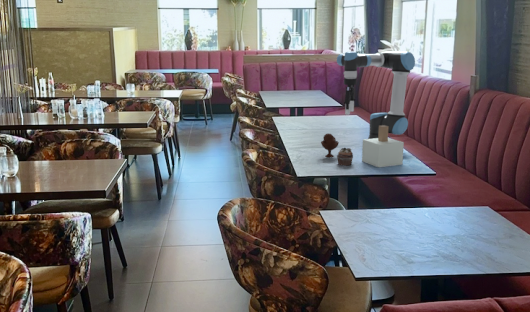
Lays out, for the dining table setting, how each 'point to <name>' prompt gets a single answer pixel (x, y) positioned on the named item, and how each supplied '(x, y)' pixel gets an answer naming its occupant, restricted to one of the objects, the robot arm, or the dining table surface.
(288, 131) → the dining table surface
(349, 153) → the cupcake
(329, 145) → the ice cream bowl
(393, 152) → the white box with knob
